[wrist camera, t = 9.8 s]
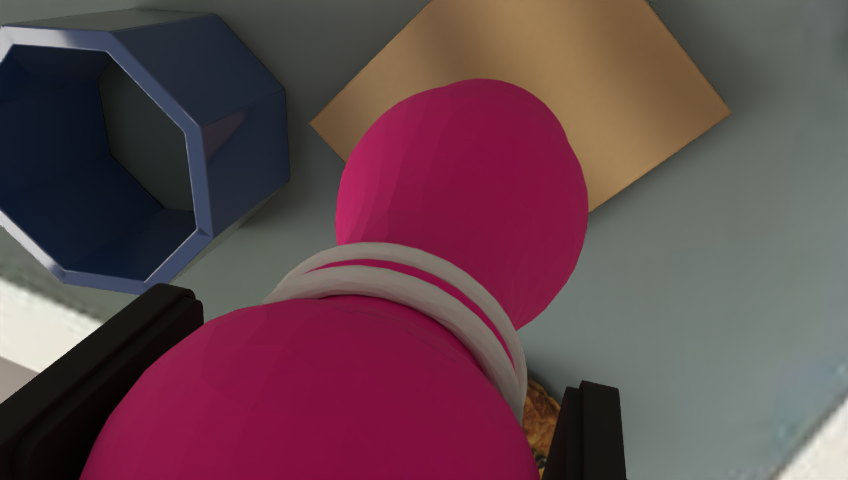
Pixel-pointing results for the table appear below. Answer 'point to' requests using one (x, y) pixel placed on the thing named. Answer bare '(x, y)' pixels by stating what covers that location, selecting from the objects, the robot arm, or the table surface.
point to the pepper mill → (382, 316)
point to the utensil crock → (89, 151)
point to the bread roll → (539, 421)
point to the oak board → (547, 78)
